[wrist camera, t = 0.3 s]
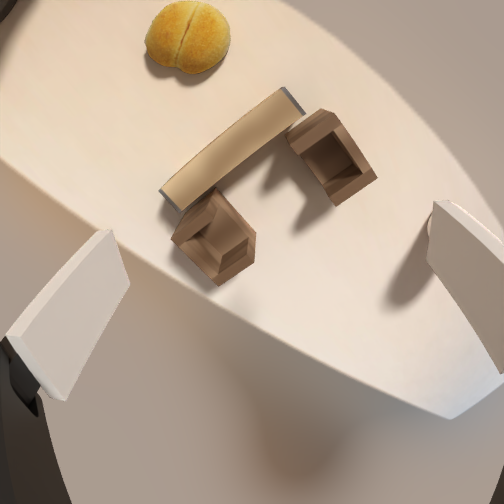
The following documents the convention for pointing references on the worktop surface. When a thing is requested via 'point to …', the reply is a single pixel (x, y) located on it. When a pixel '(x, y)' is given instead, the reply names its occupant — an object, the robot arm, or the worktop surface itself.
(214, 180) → the rail
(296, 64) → the worktop surface
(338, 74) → the worktop surface
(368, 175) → the post
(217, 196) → the post
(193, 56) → the bread roll
